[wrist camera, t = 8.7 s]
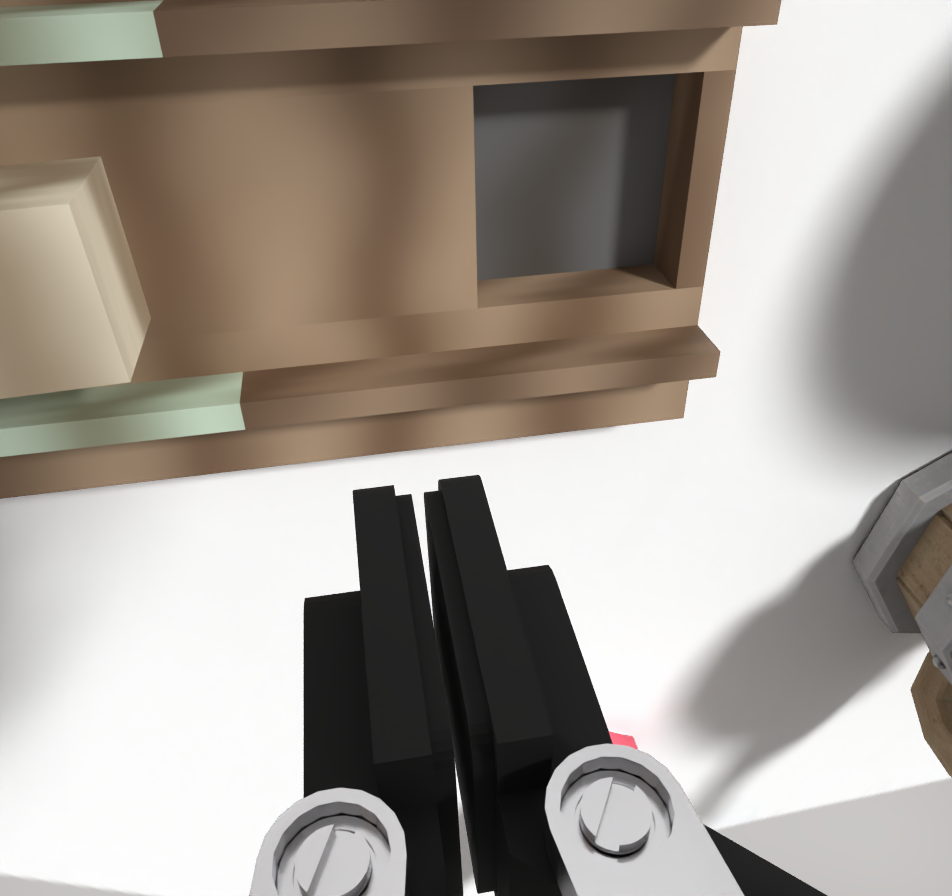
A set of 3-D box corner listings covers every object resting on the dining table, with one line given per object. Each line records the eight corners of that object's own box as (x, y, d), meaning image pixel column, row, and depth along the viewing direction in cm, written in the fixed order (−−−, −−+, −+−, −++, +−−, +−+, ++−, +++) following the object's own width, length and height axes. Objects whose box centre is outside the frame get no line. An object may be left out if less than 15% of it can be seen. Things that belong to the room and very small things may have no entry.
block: (100, 156, 23) (68, 203, 20) (151, 318, 26) (130, 381, 23) (-90, 175, 22) (-155, 227, 19) (-16, 338, 25) (-62, 406, 22)
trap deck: (729, -157, 23) (809, -161, 20) (660, 385, 34) (703, 447, 30) (-658, -125, 19) (-882, -122, 15) (-246, 486, 29) (-322, 573, 26)
